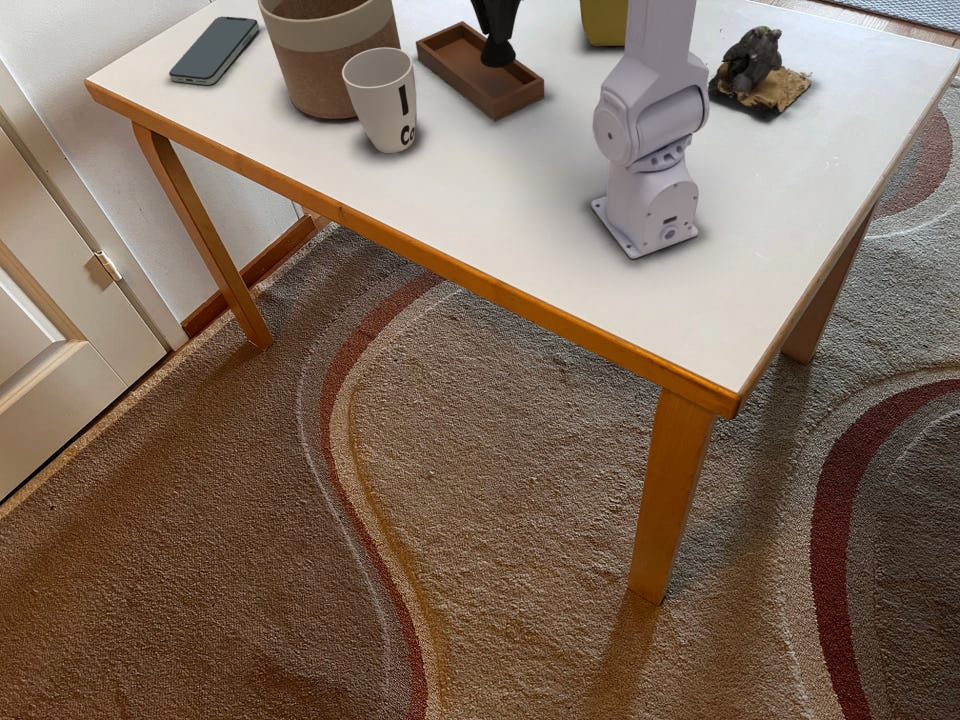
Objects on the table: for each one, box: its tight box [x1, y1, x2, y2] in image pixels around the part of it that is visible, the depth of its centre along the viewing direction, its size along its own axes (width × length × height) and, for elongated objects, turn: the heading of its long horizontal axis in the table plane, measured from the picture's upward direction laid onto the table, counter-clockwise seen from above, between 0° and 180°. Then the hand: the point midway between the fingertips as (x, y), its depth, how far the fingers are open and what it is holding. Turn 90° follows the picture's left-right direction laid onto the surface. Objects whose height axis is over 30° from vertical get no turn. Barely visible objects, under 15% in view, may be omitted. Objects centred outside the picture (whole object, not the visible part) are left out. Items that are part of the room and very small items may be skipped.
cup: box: [342, 48, 418, 154], centre depth 86 cm, size 8×8×10 cm
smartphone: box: [168, 16, 260, 86], centre depth 105 cm, size 8×2×15 cm
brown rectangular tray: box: [415, 20, 546, 123], centre depth 95 cm, size 19×8×3 cm, turn 34°
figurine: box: [705, 25, 814, 119], centre depth 84 cm, size 10×10×10 cm
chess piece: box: [480, 7, 517, 68], centre depth 85 cm, size 4×4×10 cm
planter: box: [257, 0, 402, 120], centre depth 92 cm, size 16×16×14 cm
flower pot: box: [579, 0, 628, 47], centre depth 95 cm, size 9×9×9 cm
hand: (496, 35), depth 87 cm, fingers closed on chess piece, 2 cm apart
